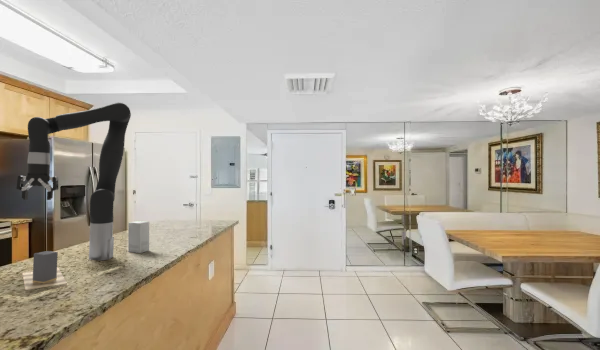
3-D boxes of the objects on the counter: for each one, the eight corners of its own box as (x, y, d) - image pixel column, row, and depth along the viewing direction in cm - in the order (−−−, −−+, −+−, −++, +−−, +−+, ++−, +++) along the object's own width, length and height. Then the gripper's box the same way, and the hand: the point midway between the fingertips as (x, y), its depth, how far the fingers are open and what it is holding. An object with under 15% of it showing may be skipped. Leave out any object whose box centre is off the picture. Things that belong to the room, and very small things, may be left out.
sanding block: (32, 281, 108) (33, 253, 108) (45, 277, 112) (46, 250, 112) (43, 283, 107) (44, 254, 107) (56, 279, 111) (57, 252, 111)
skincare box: (149, 250, 162) (150, 221, 162) (139, 253, 156) (140, 223, 156) (137, 249, 165) (138, 220, 165) (126, 251, 158) (128, 222, 159)
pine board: (22, 275, 118) (22, 272, 118) (58, 270, 125) (58, 267, 125) (25, 293, 100) (25, 290, 100) (66, 286, 108) (66, 282, 108)
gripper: (13, 162, 128) (12, 200, 128) (54, 163, 132) (52, 200, 132) (23, 162, 135) (22, 199, 135) (61, 164, 140) (60, 199, 139)
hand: (37, 199), depth 134 cm, fingers open, 8 cm apart
